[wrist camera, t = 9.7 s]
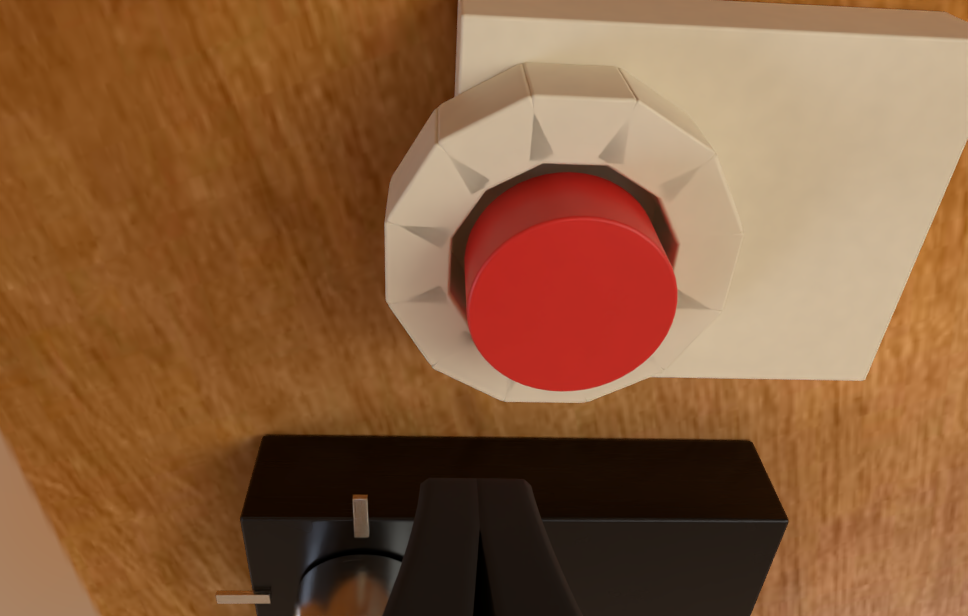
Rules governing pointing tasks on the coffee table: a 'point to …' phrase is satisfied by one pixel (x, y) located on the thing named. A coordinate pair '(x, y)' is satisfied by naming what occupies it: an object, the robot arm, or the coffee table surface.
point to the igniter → (696, 170)
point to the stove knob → (347, 586)
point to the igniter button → (567, 283)
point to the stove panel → (560, 500)
